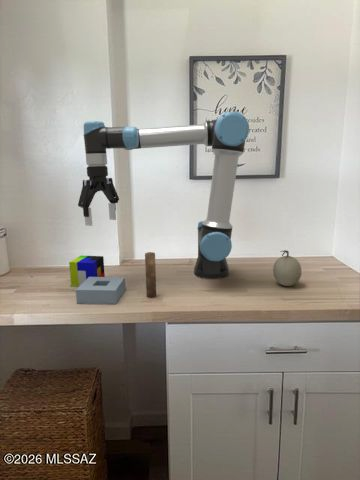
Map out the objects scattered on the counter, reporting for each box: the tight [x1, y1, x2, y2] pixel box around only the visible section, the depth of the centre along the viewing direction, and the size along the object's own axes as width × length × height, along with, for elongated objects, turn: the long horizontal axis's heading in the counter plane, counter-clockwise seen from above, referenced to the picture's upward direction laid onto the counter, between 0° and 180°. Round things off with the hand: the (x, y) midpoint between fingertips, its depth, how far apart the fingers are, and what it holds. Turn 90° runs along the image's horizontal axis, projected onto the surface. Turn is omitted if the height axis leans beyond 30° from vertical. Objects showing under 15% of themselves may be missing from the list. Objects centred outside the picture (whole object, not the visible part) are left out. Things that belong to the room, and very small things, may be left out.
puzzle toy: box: [68, 254, 106, 287], centre depth 142 cm, size 10×10×10 cm
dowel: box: [144, 251, 157, 299], centre depth 126 cm, size 4×4×16 cm
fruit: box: [272, 249, 302, 287], centre depth 136 cm, size 10×12×15 cm
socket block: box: [75, 276, 126, 305], centre depth 128 cm, size 14×14×5 cm
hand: (101, 222), depth 134 cm, fingers open, 13 cm apart
